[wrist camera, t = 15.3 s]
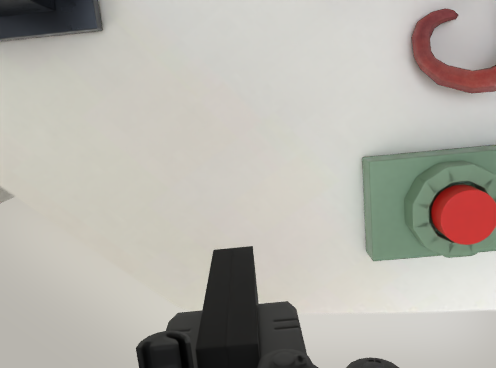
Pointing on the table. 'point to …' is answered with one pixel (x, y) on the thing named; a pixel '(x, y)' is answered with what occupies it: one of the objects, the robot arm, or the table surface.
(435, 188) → the control block
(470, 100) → the table surface
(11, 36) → the bracket
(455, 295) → the table surface
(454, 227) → the button
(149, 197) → the table surface
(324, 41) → the table surface
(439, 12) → the red curved piece
